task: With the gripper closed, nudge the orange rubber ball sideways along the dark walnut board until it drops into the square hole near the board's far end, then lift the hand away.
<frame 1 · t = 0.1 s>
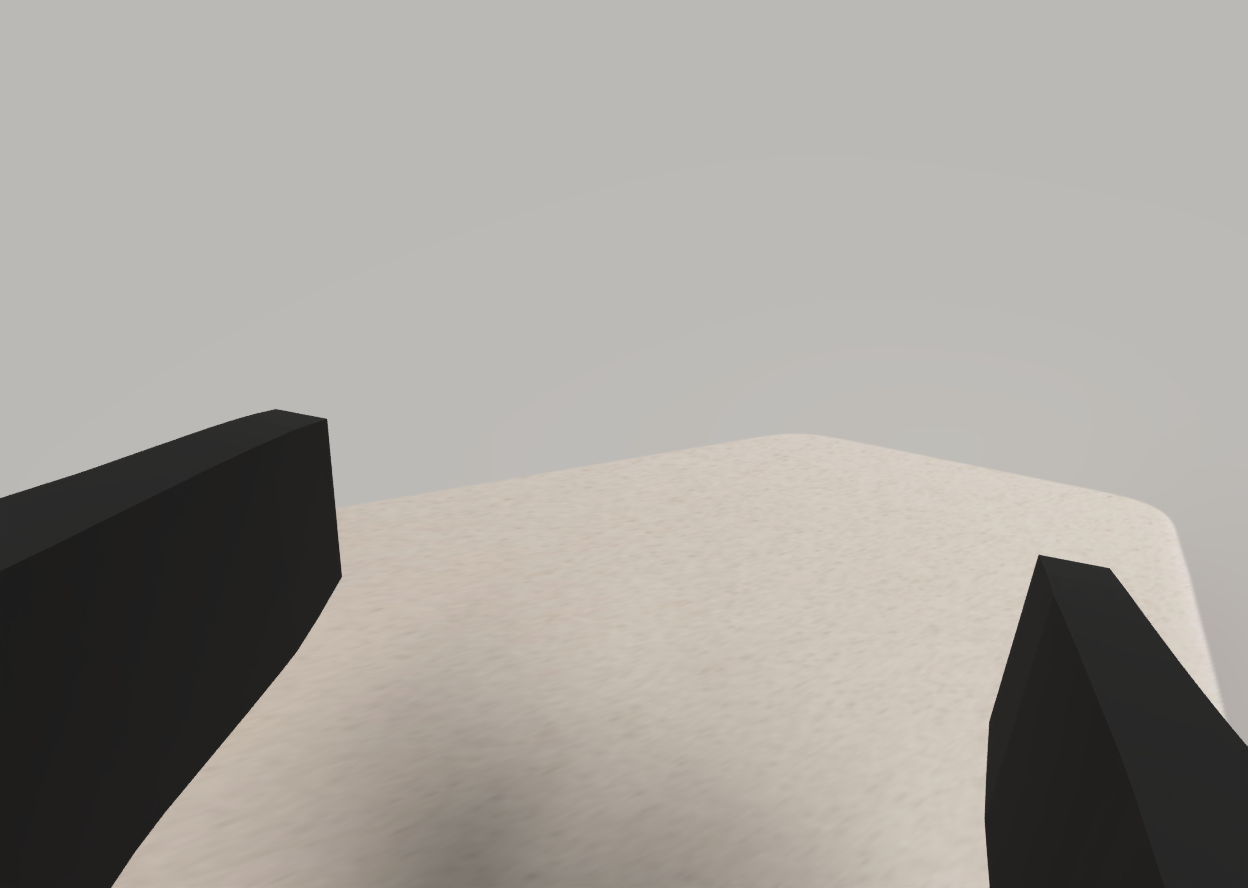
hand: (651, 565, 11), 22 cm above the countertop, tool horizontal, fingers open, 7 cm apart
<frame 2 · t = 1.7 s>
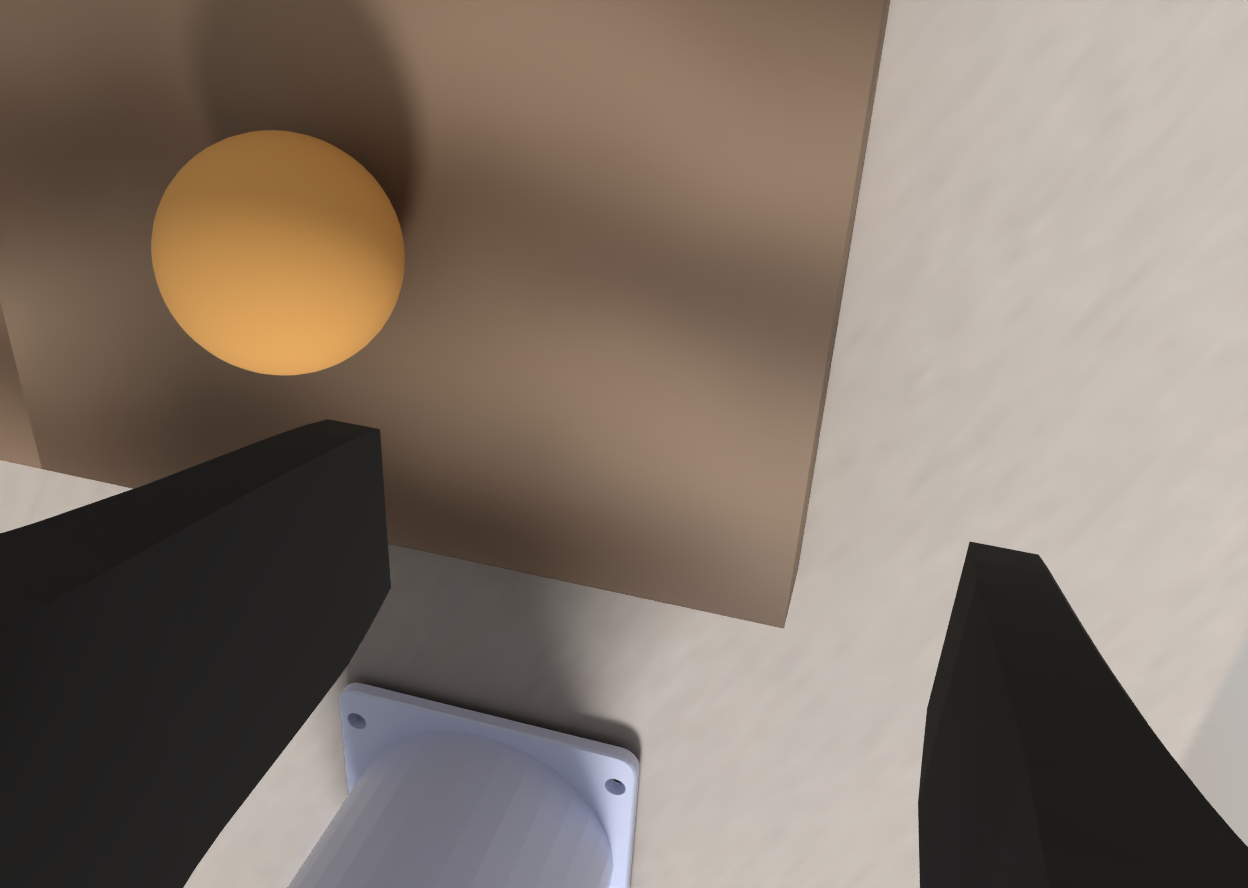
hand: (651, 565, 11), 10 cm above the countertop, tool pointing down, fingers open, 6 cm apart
board: (213, 167, 22), on the countertop
ball: (282, 255, 18), point 4 cm above the countertop, touching board
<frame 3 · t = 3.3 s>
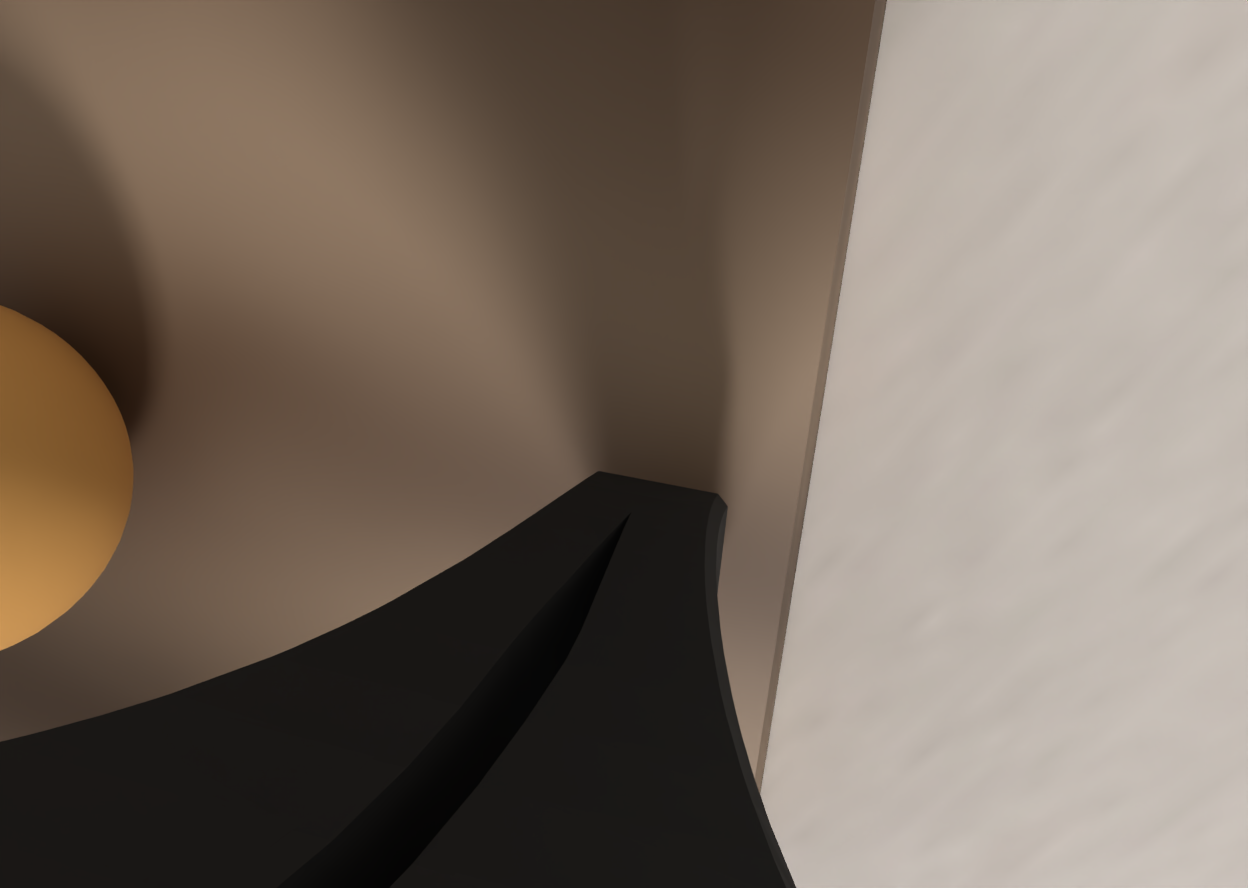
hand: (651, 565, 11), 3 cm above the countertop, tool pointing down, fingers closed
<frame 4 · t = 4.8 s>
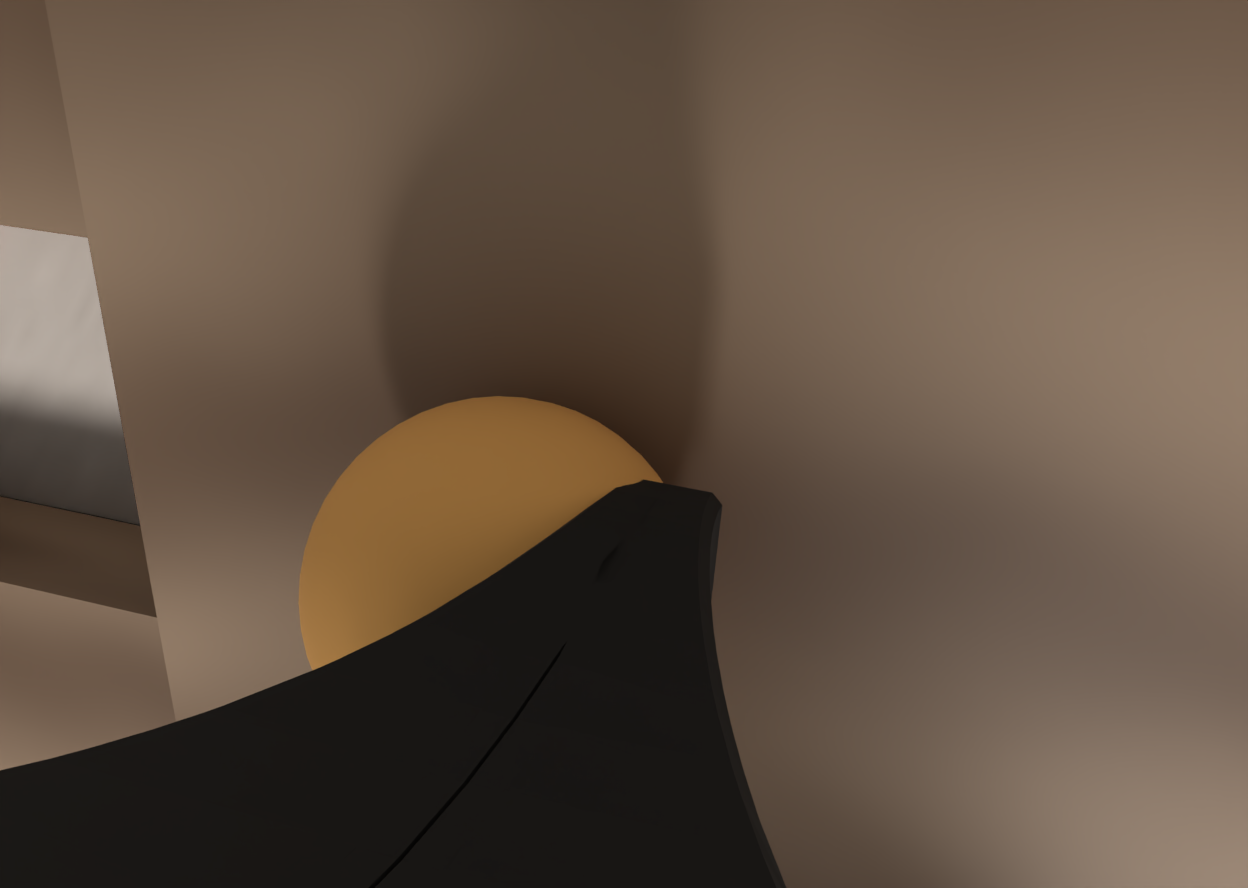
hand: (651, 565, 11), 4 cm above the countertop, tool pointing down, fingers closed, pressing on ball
board: (481, 433, 15), on the countertop
ball: (501, 590, 11), point 4 cm above the countertop, tilted 64°, touching board, gripper
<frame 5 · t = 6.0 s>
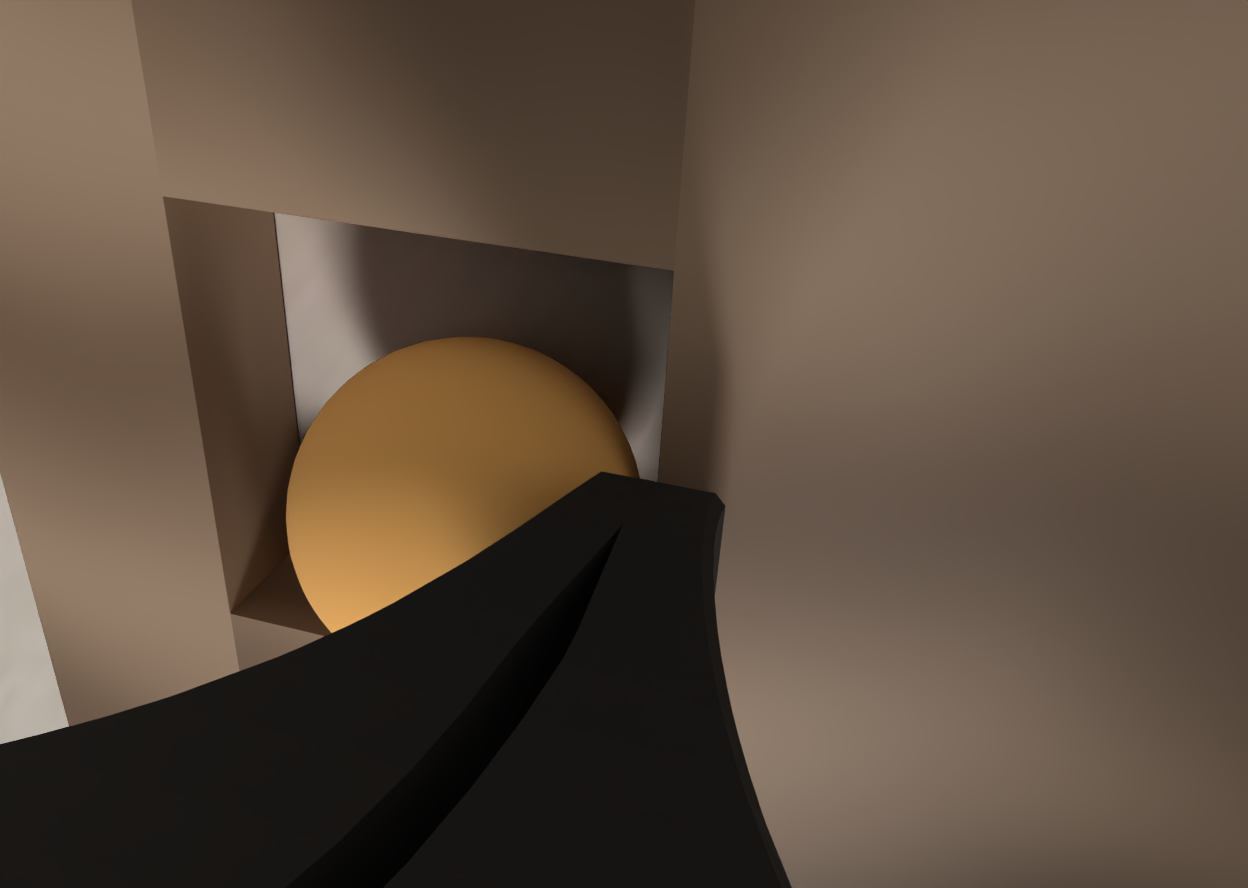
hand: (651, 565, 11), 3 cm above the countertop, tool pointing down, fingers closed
board: (1049, 496, 12), on the countertop
ball: (468, 511, 12), point 2 cm above the countertop, tilted 16°, touching gripper
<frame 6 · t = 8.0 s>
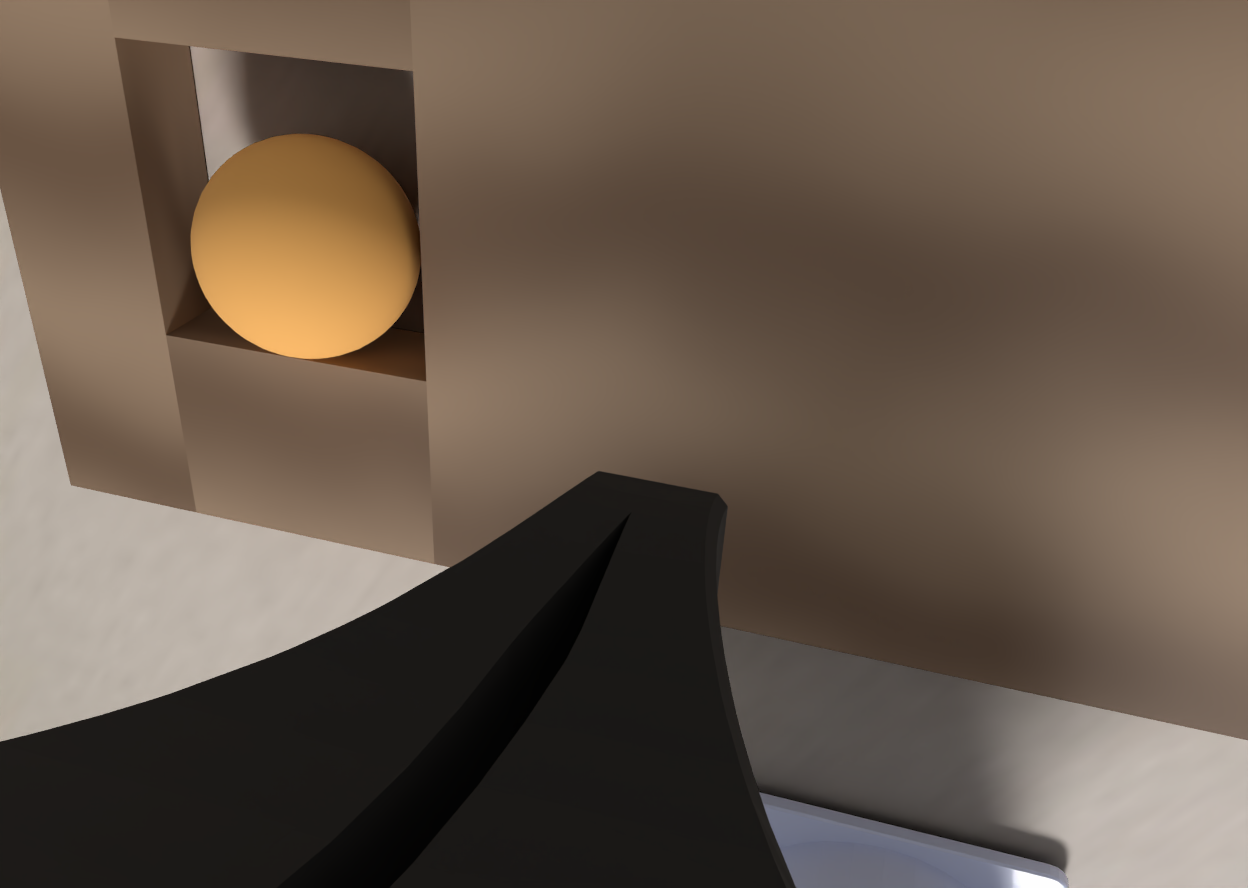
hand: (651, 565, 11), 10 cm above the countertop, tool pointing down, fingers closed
board: (680, 236, 20), on the countertop
ball: (309, 248, 20), point 2 cm above the countertop, tilted 17°
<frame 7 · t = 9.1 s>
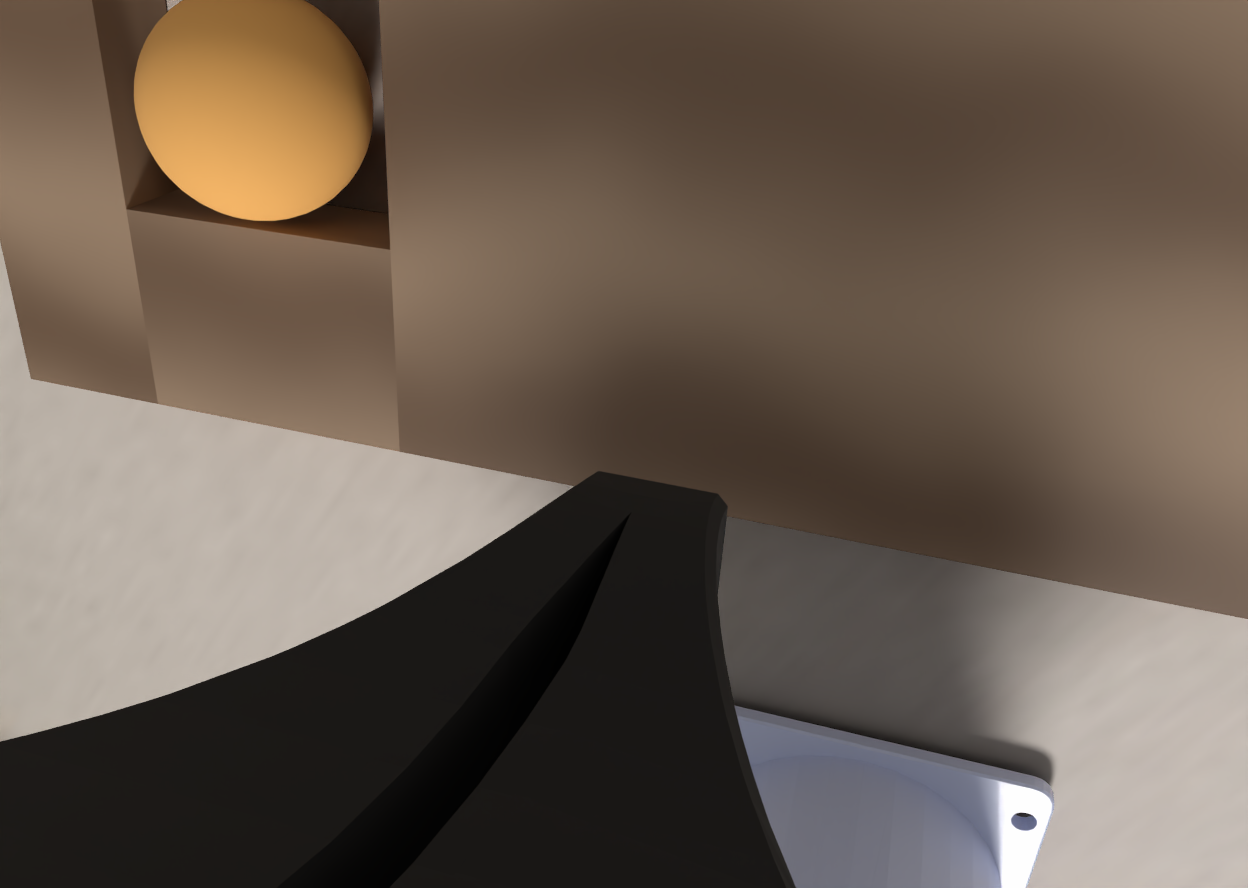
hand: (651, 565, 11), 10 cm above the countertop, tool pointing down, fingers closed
board: (651, 98, 19), on the countertop
ball: (257, 106, 19), point 2 cm above the countertop, tilted 24°
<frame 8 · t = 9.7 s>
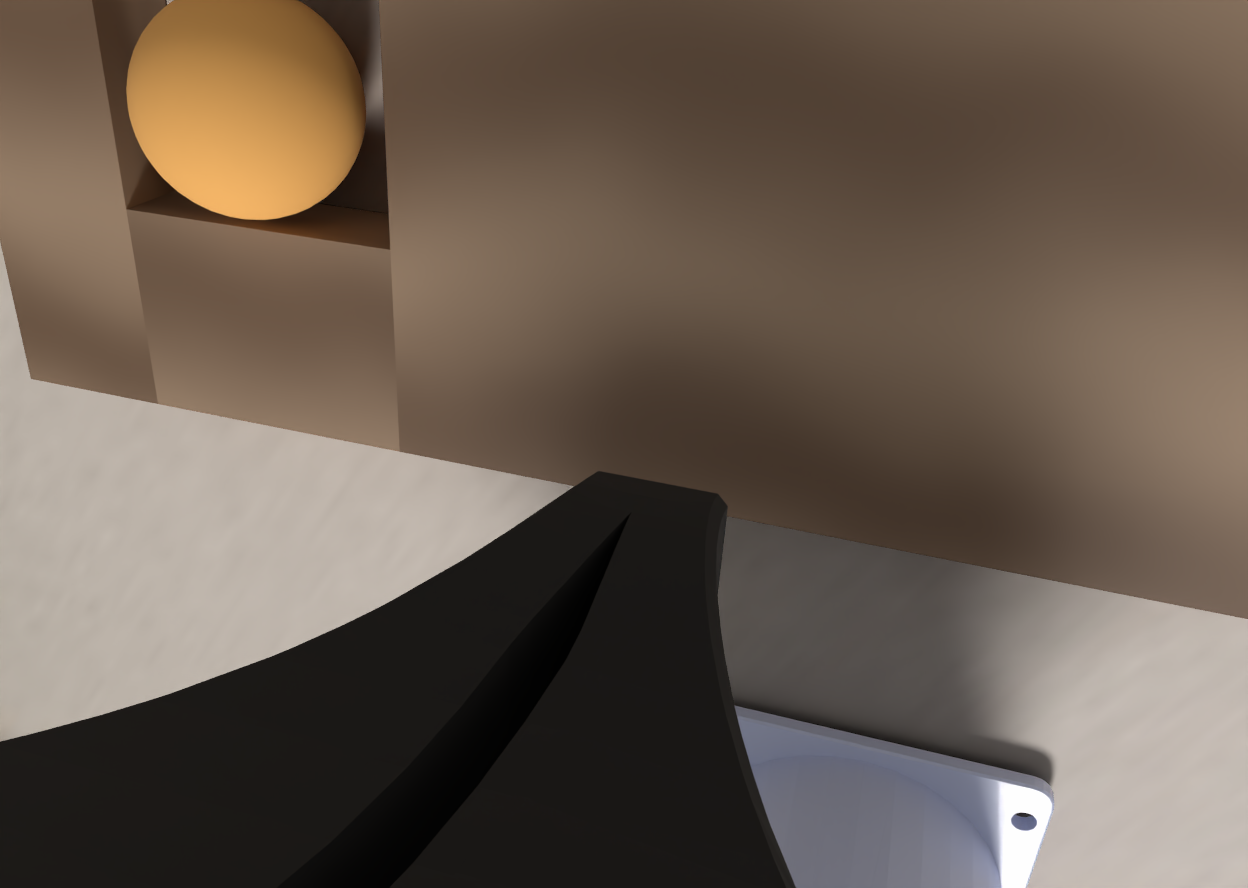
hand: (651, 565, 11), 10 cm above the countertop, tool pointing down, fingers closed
board: (651, 98, 19), on the countertop
ball: (250, 105, 19), point 2 cm above the countertop, tilted 28°
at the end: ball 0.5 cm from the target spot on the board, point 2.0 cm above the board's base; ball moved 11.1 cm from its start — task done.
